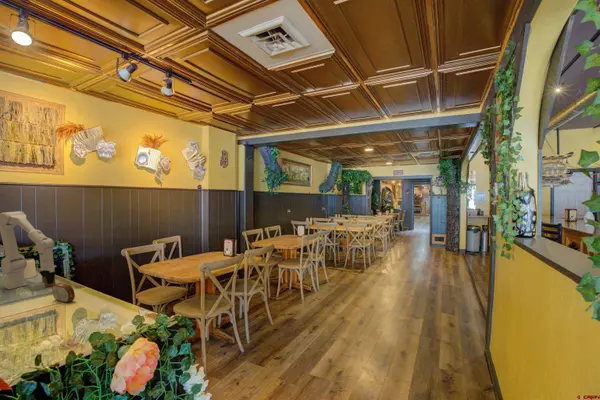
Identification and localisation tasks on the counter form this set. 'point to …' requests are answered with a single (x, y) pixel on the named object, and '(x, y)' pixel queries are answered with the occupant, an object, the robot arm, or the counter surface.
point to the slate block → (37, 286)
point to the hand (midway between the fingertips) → (48, 282)
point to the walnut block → (46, 281)
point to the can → (30, 269)
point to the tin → (63, 292)
